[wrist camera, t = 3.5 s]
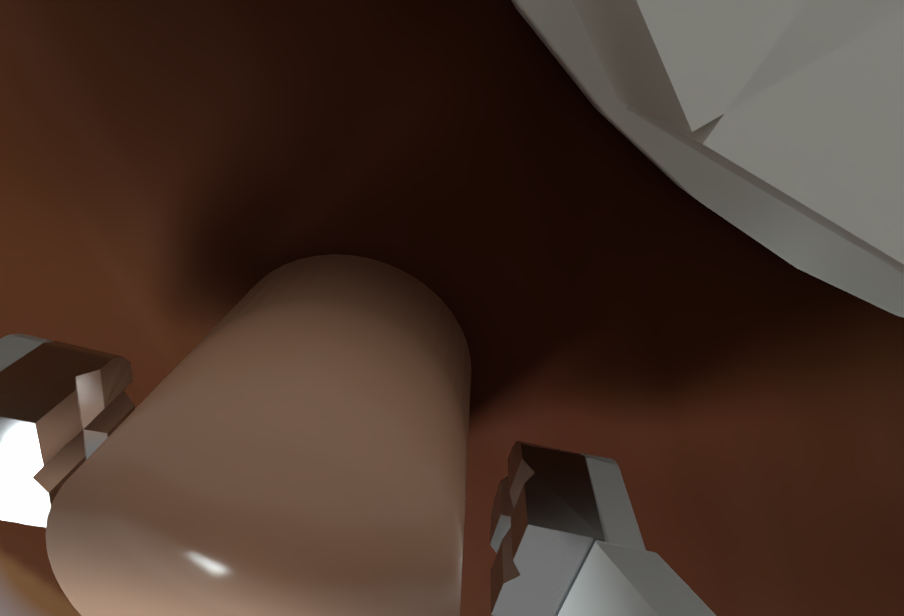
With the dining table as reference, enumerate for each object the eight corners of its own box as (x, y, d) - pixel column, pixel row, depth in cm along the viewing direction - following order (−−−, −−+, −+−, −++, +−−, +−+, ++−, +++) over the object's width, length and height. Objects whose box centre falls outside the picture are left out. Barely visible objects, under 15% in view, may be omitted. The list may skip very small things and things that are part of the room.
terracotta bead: (516, 403, 10) (536, 648, 6) (331, 488, 11) (245, 738, 7) (375, 203, 8) (272, 352, 4) (180, 330, 9) (-41, 536, 5)
